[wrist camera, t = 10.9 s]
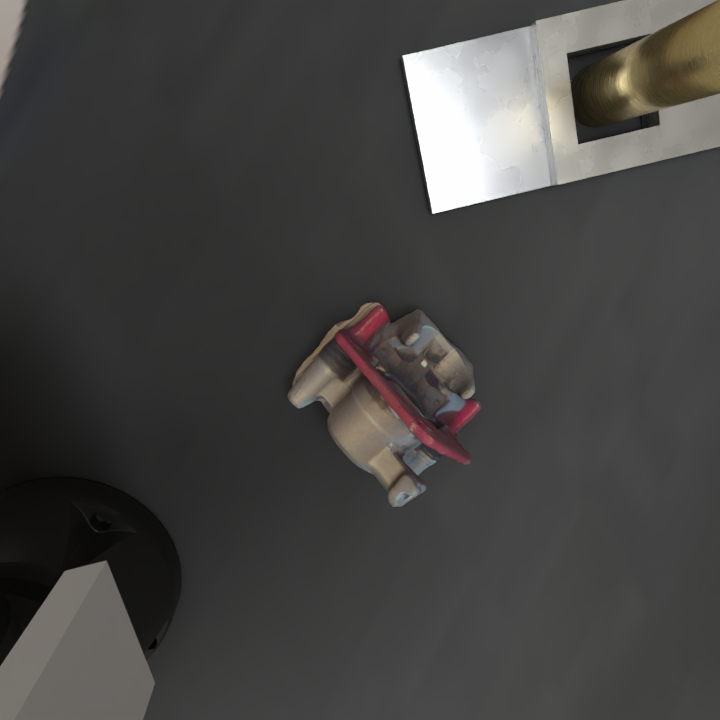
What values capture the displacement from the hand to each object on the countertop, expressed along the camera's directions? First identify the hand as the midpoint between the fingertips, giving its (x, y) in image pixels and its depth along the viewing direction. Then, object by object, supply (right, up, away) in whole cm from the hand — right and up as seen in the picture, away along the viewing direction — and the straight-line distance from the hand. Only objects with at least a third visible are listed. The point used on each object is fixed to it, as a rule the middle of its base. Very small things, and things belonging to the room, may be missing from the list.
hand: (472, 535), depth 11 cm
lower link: (+8, +18, +25) cm, 32 cm away
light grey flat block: (+17, +20, +26) cm, 37 cm away
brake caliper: (0, +2, +29) cm, 29 cm away
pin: (+12, +19, +26) cm, 34 cm away
